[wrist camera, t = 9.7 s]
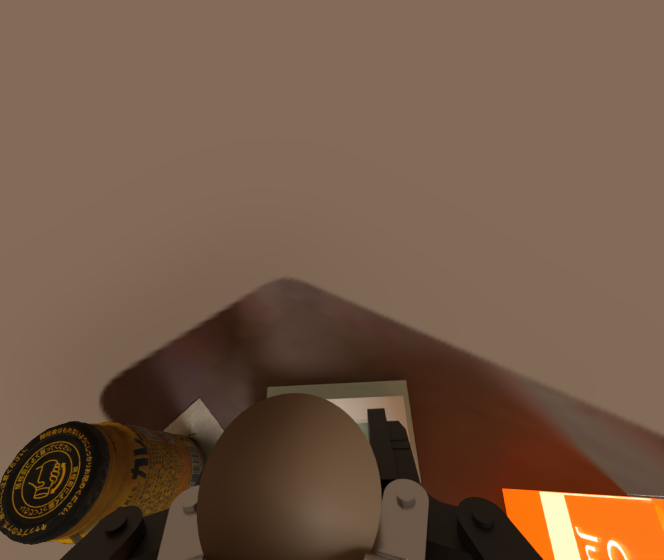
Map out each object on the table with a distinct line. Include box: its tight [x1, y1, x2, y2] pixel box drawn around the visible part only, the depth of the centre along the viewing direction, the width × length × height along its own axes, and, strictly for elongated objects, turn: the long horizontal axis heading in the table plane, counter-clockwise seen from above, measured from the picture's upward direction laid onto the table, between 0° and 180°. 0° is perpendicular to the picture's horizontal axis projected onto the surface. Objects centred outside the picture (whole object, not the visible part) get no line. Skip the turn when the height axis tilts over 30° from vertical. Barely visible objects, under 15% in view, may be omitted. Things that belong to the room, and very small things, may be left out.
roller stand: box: [267, 380, 421, 482], centre depth 23 cm, size 12×14×4 cm
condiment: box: [0, 398, 224, 545], centre depth 21 cm, size 7×8×12 cm
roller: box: [197, 393, 382, 560], centre depth 12 cm, size 4×4×10 cm
